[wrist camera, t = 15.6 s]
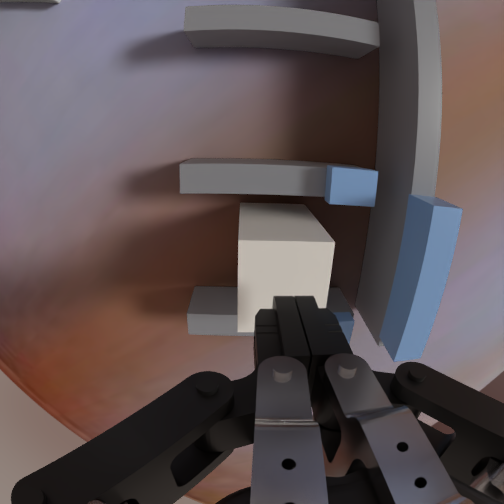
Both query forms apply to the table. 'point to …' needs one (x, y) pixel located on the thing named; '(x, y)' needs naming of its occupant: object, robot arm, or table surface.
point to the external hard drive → (47, 0)
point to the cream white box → (280, 257)
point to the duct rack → (350, 176)
